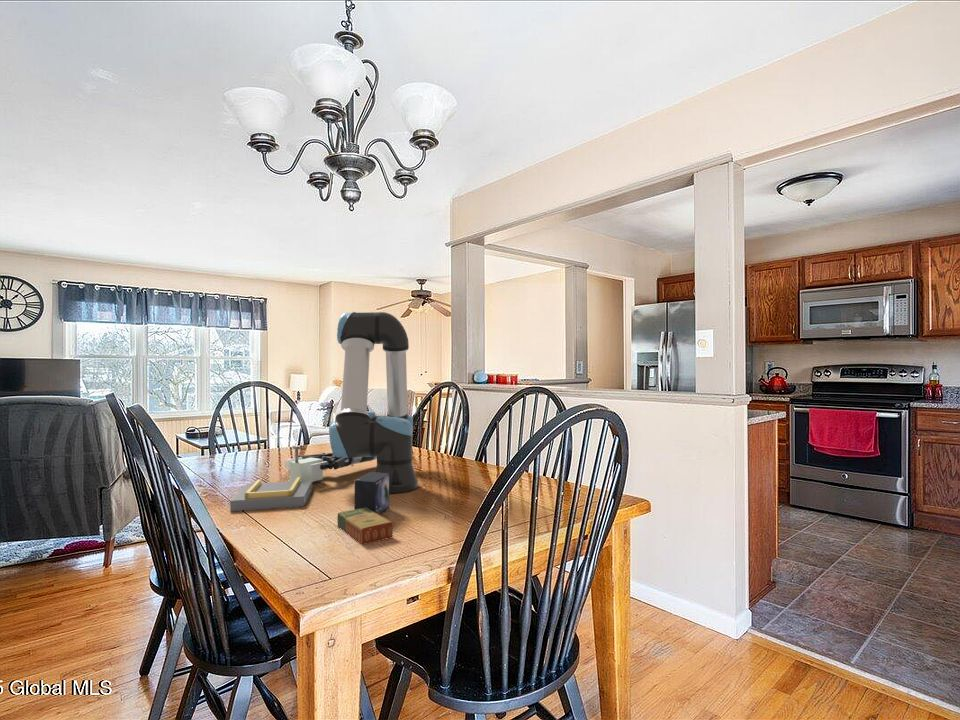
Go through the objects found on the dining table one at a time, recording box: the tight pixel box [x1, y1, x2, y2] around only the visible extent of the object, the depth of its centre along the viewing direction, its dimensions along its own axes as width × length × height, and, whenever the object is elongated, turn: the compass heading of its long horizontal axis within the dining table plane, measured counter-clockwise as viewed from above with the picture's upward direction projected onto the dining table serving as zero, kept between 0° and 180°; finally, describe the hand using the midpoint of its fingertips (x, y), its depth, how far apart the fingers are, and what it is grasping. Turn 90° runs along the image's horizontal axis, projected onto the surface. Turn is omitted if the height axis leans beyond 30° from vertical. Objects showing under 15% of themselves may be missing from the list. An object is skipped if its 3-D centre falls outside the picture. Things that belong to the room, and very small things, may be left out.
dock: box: [229, 477, 313, 512], centre depth 159 cm, size 20×20×4 cm
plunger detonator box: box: [288, 445, 324, 484], centre depth 178 cm, size 6×9×14 cm, turn 146°
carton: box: [337, 507, 394, 545], centre depth 129 cm, size 8×16×4 cm, turn 35°
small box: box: [353, 471, 390, 516], centre depth 144 cm, size 11×6×10 cm, turn 168°
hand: (298, 466), depth 176 cm, fingers open, 13 cm apart
